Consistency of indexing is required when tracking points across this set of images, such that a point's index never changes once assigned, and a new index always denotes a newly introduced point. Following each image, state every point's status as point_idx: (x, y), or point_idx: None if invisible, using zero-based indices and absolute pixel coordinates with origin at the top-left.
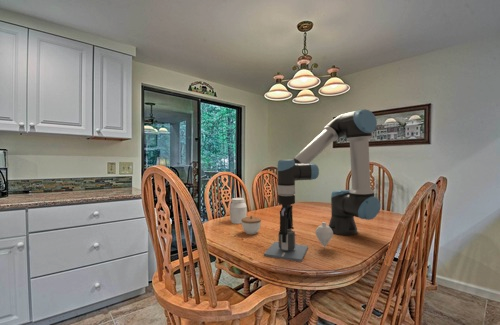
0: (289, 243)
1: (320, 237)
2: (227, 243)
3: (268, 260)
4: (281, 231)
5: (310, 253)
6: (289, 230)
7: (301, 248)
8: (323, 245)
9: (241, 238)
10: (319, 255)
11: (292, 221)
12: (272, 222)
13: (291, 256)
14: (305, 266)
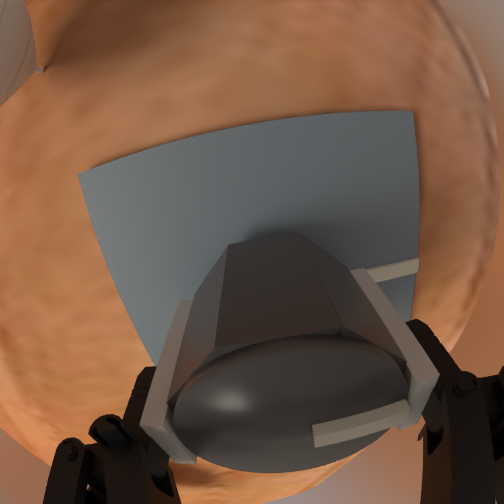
0: (358, 292)
1: (15, 39)
2: (301, 475)
3: (439, 309)
4: (498, 424)
5: (191, 95)
6: (191, 434)
7: (171, 193)
8: (36, 63)
9: (225, 474)
10: (195, 21)
11: (53, 494)
12: (14, 422)
13: (396, 203)
14: (443, 78)
